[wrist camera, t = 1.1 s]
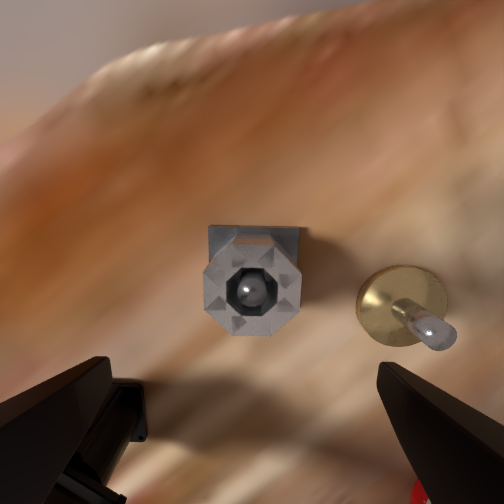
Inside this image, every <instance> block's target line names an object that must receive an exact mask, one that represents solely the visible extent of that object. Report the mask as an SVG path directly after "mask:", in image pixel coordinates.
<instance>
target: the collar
mask: <svg viewBox="0 0 504 504" xmlns="http://www.w3.org/2000/svg"><path fill="white" fill-rule="evenodd" d="M241 267H243V268H264V269H265V270H266V271H267V272H268V273H269V274H270V275H271V276H272V277H273V279H272V280H271V281H270V282H269V283H268V284H267V285H266V291H267V295H266V298H265V300H264V302H263V303H261V304H260V305H258V306H255V307H249V306H246V305H244V304H243V303H241V301H240V300H239V298H238V295H237V291H238V286H239V284H238V283H237V282H236V281H235V280H234V279H233V275H234V274H235V273H236V272H237V271H238V270H239V269H240V268H241ZM301 282H302V274H301V272H300V270H299V269H298V267H297V265H296V264H295V262H294V260H293V259H292V257H291V256H290V255H289V254H288V253H287V252H286V251H285V250H284V249H283V248H282V247H281V245H280V244H279V243H278V242H277V241H276V240H275V239H274V238H273V237H272V236H271V235H270V234H240V233H237V234H236V235H235V236H234V237H233V238H232V239H231V240H230V241H229V242H228V243H227V244H226V245H225V246H224V247H223V248H222V249H221V250H220V251H219V252H218V253H217V254H216V255H215V256H214V257H213V259H212V260H211V262H210V263H209V264H208V266H207V267H206V269H205V270H204V271H203V290H204V310H205V311H206V312H207V313H208V314H209V315H210V316H211V317H212V318H213V319H215V320H216V321H217V322H218V323H219V324H220V325H221V326H222V327H223V328H224V329H225V330H226V331H228V332H229V333H230V334H231V335H233V336H272V335H273V334H274V333H275V332H276V331H277V330H279V329H280V328H281V327H282V326H283V325H285V324H286V323H287V322H288V321H289V320H291V319H292V318H293V317H294V316H295V315H297V314H298V313H299V310H300V296H301Z"/></svg>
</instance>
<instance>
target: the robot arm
mask: <svg viewBox="0 0 504 504" xmlns="http://www.w3.org/2000/svg"><path fill="white" fill-rule="evenodd" d="M376 384H377V390H378V393H379V395H380V398H381V400H382V402H383V405H384V407H385V409H386V412H387V414H388V417H389V419H390V421H391V424H392V426H393V429H394V431H395V433H396V436H397V438H398V440H399V442H400V444H401V446H402V448H403V450H404V452H405V454H406V456H407V458H408V460H409V462H410V464H411V466H412V468H413V470H414V472H415V473H416V475H417V477H418V479H419V481H420V483H421V485H422V487H423V489H424V491H425V493H426V494H427V496H428V498H429V500H430V502H431V504H504V426H503V425H502V424H500V423H498V422H496V421H495V420H493V419H491V418H490V417H488V416H486V415H484V414H483V413H481V412H479V411H478V410H476V409H474V408H472V407H471V406H469V405H467V404H465V403H464V402H462V401H460V400H459V399H457V398H455V397H453V396H452V395H450V394H448V393H447V392H445V391H443V390H441V389H440V388H438V387H436V386H434V385H433V384H431V383H429V382H428V381H426V380H424V379H422V378H421V377H419V376H417V375H416V374H414V373H412V372H410V371H409V370H407V369H405V368H403V367H402V366H400V365H398V364H397V363H395V362H381V363H380V364H379V369H378V376H377V383H376ZM136 389H137V390H136ZM147 436H148V431H147V422H146V412H145V402H144V392H143V387H142V385H140V384H128V383H112V371H111V364H110V359H109V358H108V357H106V356H95V357H93V358H91V359H89V360H87V361H85V362H83V363H81V364H79V365H77V366H74V367H72V368H70V369H68V370H66V371H64V372H62V373H60V374H58V375H56V376H54V377H52V378H50V379H48V380H46V381H44V382H42V383H40V384H38V385H36V386H34V387H32V388H30V389H28V390H26V391H24V392H22V393H20V394H18V395H16V396H14V397H12V398H10V399H8V400H6V401H4V402H2V403H0V504H125V503H126V500H127V497H125V496H124V495H122V494H120V495H119V494H117V493H116V492H114V491H112V490H111V489H109V488H108V487H106V486H107V484H108V482H109V480H110V478H111V476H112V474H113V472H114V471H115V469H116V467H117V465H118V463H119V461H120V459H121V457H122V455H123V453H124V451H125V449H126V447H127V445H128V444H129V442H144V441H145V440H146V438H147Z"/></svg>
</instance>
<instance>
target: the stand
mask: <svg viewBox="0 0 504 504" xmlns="http://www.w3.org/2000/svg"><path fill="white" fill-rule="evenodd" d="M237 233H240V234H270V235H271V236H272V237H273V238H274V239H275V240H276V241H277V242H278V243H279V244H280V245H281V247H282V248H283V249H284V250H285V251H286V252H287V253H288V254H289V255H290V256H291V257H292V259H293V260H294V262H295V264H296V265H297V258H298V243H299V228H298V227H284V226H238V225H210V226H208V237H209V263H210V262H211V260H212V259H213V257H214V256H215V255H216V254H217V253H218V252H219V251H220V250H221V249H222V248H223V247H224V246H225V245H226V244H227V243H228V242H229V241H230V240H231V239H232V238H233V237H234V236H235V235H236V234H237ZM233 279H234V280H235V281H236V282H237V283H238V284H239V286H238V291H237V295H238V298H239V300H240V301H241V303H243V304H244V305H246V306H249V307H255V306H258V305H260V304H261V303H263V302H264V300H265V298H266V295H267V291H266V285H267V284H268V283H269V282H270V281H271V280H272V279H273V277H272V276H271V275H270V274H269V273H268V272H267V271H266V270H265V269H264V268H243V267H241V268H240V269H239V270H238V271H237V272H236V273H235V274H234V275H233Z"/></svg>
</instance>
